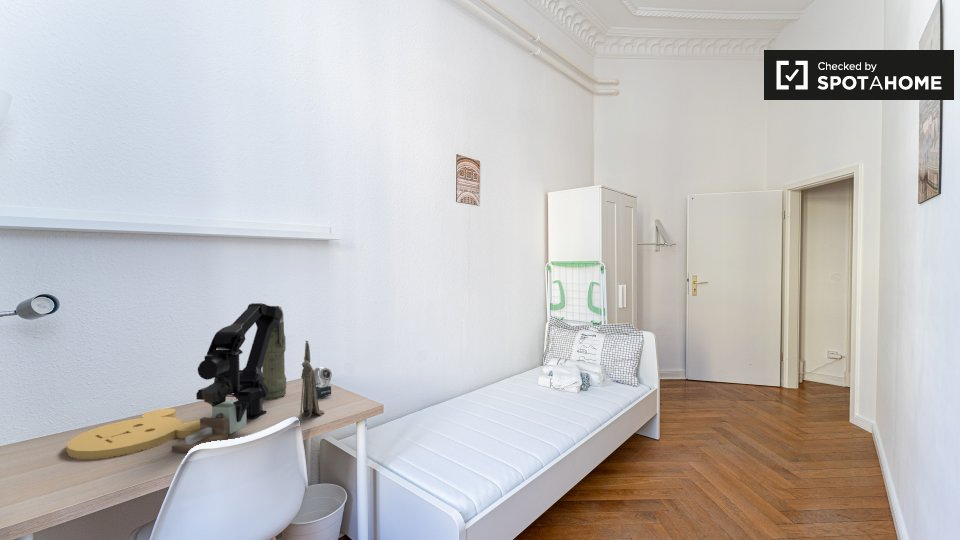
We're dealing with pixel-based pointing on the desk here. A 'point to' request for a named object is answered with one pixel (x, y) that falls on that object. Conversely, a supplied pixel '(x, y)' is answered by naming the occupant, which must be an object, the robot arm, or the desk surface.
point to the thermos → (275, 362)
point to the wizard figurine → (309, 387)
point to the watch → (326, 378)
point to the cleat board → (204, 424)
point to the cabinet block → (229, 415)
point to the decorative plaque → (131, 435)
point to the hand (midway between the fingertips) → (229, 421)
